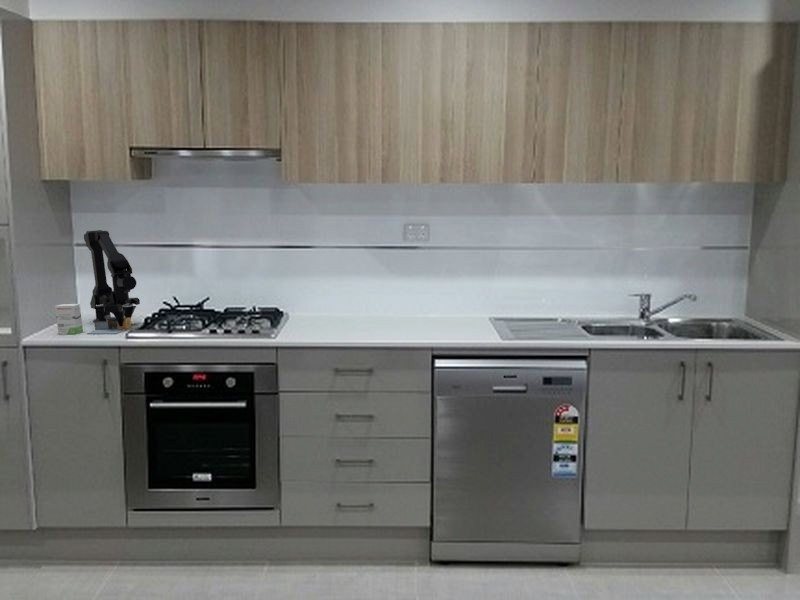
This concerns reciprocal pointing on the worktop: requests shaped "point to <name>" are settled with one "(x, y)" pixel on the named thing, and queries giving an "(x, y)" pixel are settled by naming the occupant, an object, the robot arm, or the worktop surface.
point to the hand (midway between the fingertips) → (124, 324)
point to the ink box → (69, 319)
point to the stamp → (126, 323)
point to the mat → (105, 331)
